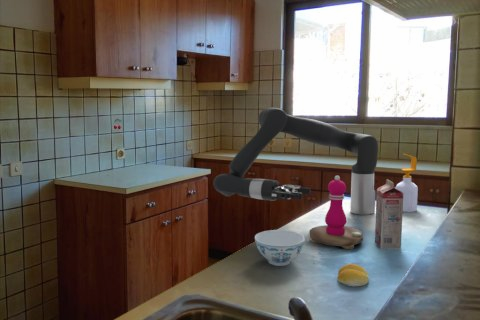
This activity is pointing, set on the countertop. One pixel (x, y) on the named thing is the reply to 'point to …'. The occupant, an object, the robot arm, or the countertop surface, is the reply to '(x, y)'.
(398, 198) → the juice carton
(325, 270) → the countertop surface
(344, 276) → the bread roll
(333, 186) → the pepper mill
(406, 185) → the soap bottle
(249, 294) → the countertop surface
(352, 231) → the round wooden disc
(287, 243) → the chinaware
